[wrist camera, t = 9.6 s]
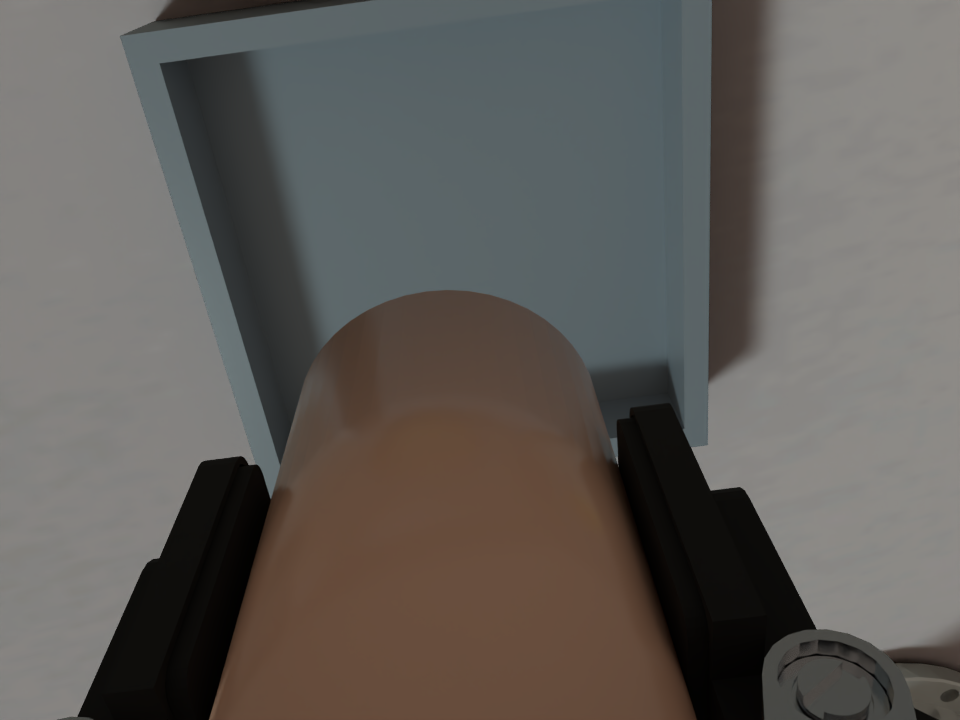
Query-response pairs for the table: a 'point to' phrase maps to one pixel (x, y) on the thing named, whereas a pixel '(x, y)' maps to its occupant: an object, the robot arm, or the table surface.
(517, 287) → the slate tray
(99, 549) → the table surface
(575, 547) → the shaker
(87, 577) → the table surface
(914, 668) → the robot arm
